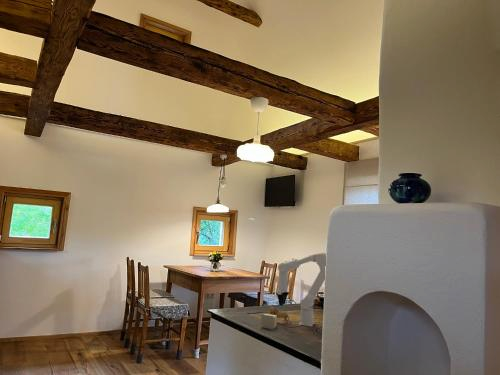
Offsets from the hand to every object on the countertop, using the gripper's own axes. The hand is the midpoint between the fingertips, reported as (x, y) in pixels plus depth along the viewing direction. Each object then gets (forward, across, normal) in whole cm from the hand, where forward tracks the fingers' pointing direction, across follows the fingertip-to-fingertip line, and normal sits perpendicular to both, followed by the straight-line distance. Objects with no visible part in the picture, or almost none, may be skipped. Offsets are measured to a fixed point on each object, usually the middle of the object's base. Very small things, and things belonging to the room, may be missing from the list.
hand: (282, 304), depth 234 cm
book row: (+9, +18, -2) cm, 21 cm away
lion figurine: (+10, +8, +1) cm, 13 cm away
